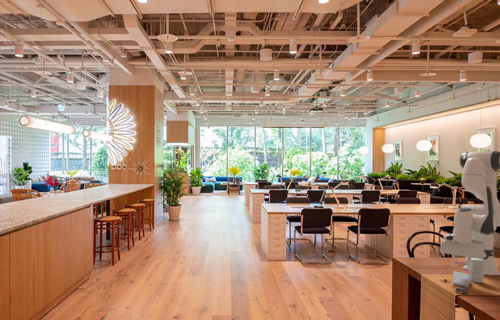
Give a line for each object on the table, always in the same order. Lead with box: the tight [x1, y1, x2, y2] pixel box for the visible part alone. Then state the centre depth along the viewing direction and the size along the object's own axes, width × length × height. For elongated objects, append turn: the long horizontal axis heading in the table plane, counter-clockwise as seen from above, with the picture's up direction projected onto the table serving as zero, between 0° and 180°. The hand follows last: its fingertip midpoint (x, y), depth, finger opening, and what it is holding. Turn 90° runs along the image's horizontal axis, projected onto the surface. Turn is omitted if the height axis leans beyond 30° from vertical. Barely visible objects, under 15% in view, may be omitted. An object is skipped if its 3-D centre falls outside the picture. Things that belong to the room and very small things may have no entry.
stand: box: [440, 278, 451, 284], centre depth 184 cm, size 4×4×1 cm
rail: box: [455, 287, 469, 295], centre depth 167 cm, size 1×5×2 cm, turn 60°
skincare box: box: [467, 258, 485, 284], centre depth 187 cm, size 6×4×12 cm
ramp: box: [452, 270, 470, 289], centre depth 182 cm, size 12×7×4 cm, turn 150°
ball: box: [457, 260, 465, 268], centre depth 185 cm, size 4×4×4 cm
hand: (460, 264), depth 185 cm, fingers closed on ball, 4 cm apart
